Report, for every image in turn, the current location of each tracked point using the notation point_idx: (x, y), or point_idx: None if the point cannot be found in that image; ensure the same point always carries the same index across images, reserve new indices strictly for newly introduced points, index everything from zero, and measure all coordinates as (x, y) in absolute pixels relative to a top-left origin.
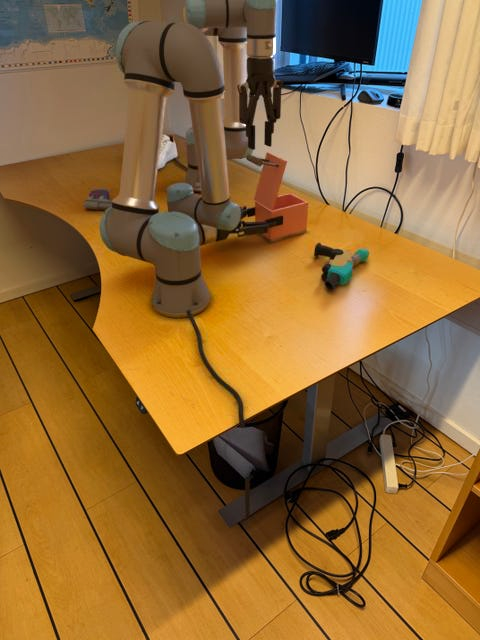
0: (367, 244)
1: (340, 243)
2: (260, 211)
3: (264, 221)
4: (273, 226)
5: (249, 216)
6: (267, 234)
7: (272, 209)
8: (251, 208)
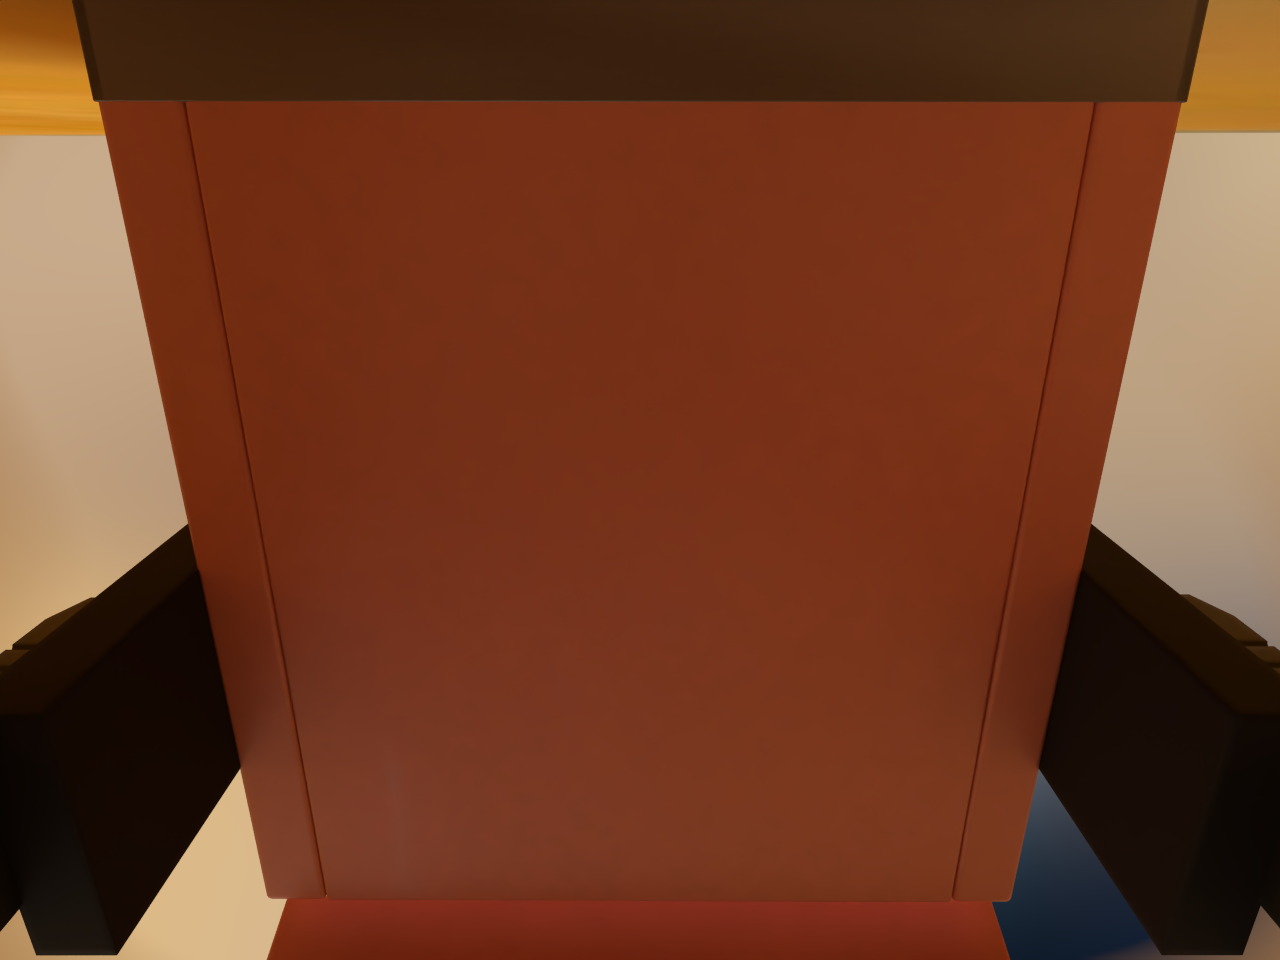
0: (53, 121)
1: (68, 110)
2: (768, 766)
3: (561, 578)
4: (10, 659)
5: (1204, 707)
6: (345, 219)
7: (279, 927)
8: (1110, 852)
